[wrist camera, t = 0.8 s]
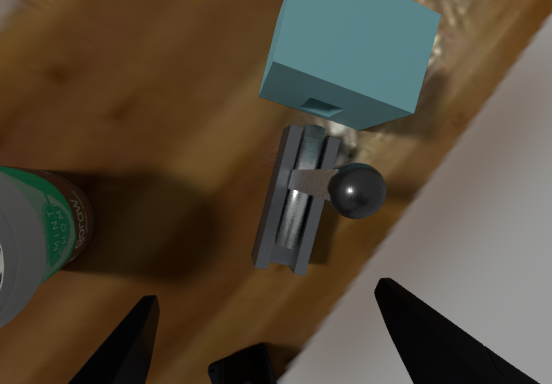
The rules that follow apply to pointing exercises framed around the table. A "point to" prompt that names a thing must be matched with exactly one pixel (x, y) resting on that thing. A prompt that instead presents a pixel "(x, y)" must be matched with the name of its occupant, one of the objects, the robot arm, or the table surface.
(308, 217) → the outer sleeve
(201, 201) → the table surface
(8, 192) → the food container
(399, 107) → the socket block
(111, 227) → the table surface
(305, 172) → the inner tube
